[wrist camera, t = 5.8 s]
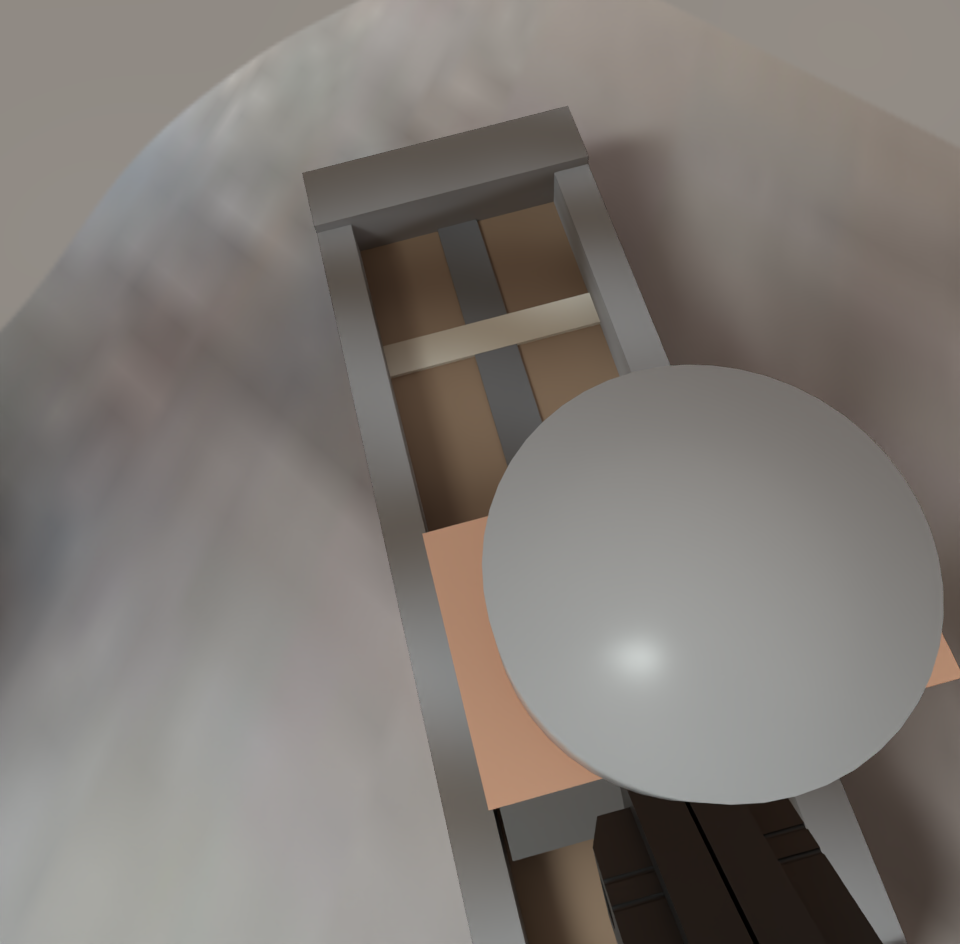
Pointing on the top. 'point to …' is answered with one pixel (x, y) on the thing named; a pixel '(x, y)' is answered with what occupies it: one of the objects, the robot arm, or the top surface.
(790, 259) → the top surface
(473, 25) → the top surface
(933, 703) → the top surface
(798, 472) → the slider tab
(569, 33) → the top surface
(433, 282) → the fader track
